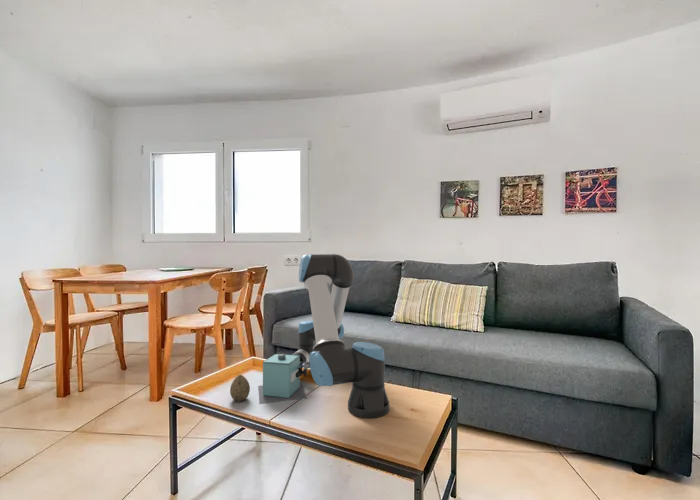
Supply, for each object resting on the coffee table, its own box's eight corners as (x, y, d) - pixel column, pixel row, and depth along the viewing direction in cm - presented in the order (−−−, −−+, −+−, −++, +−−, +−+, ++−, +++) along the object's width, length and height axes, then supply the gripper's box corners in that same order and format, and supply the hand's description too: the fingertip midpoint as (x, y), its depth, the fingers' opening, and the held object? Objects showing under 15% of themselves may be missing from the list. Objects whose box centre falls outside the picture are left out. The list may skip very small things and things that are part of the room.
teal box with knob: (299, 387, 142) (299, 352, 142) (288, 397, 131) (288, 360, 131) (275, 384, 144) (275, 350, 144) (262, 395, 134) (262, 358, 134)
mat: (307, 399, 132) (307, 398, 132) (259, 405, 126) (259, 403, 126) (300, 382, 149) (300, 381, 149) (258, 387, 144) (258, 385, 144)
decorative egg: (239, 406, 125) (239, 379, 125) (226, 402, 129) (226, 376, 129) (253, 399, 131) (253, 373, 132) (240, 395, 135) (240, 370, 135)
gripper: (323, 370, 152) (305, 389, 131) (275, 366, 158) (250, 384, 137) (323, 353, 152) (305, 369, 131) (275, 350, 158) (250, 365, 137)
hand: (277, 377), depth 134 cm, fingers closed on teal box with knob, 11 cm apart
